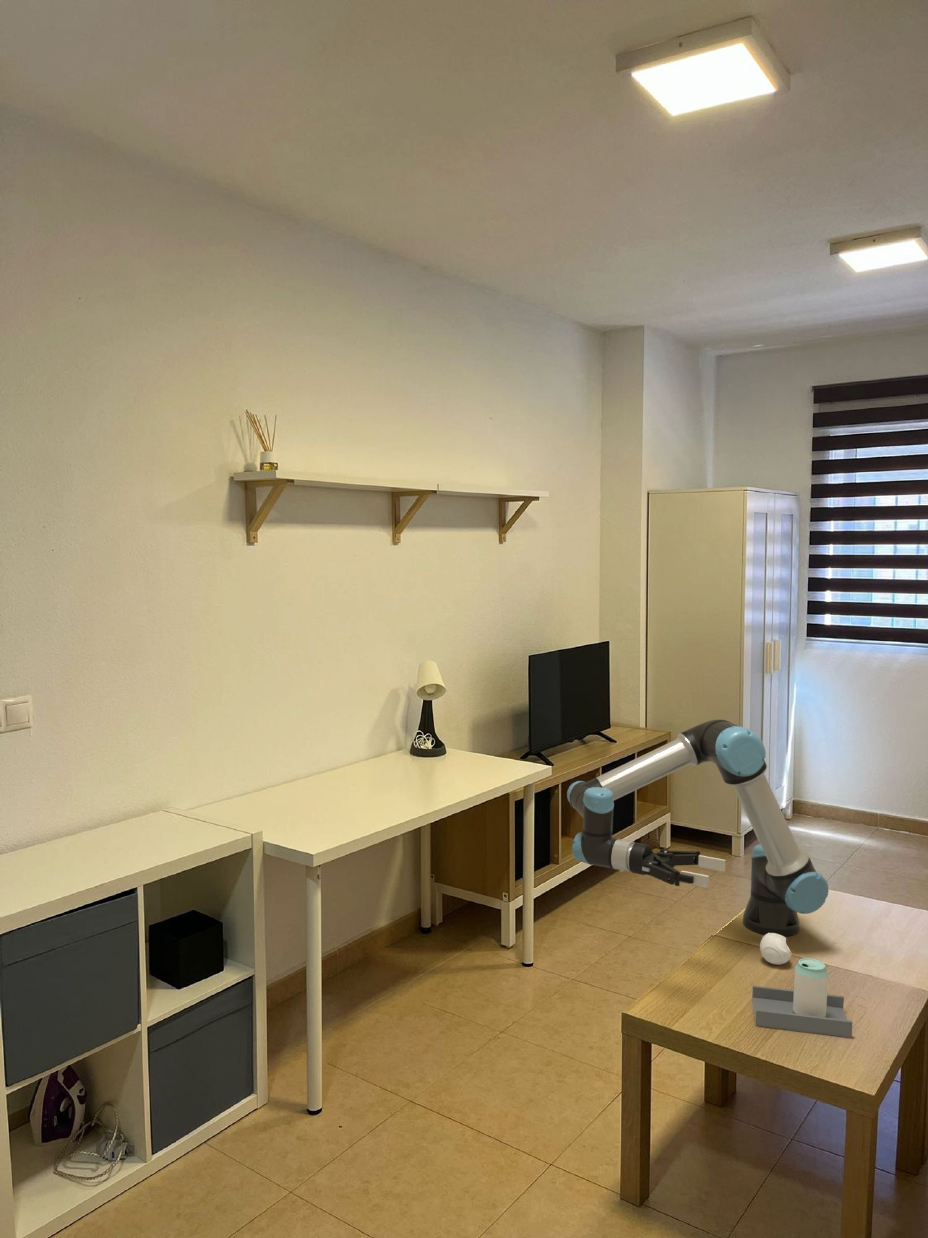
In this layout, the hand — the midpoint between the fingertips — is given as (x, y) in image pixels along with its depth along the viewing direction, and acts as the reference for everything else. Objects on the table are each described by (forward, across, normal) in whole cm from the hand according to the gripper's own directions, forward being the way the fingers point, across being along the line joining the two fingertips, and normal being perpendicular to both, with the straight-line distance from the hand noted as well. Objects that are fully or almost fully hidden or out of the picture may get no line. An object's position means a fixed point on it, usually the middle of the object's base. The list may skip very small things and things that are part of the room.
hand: (717, 873), depth 228 cm
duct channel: (+21, +4, -28) cm, 35 cm away
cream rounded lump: (+10, -22, -28) cm, 37 cm away
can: (+23, +4, -27) cm, 36 cm away
